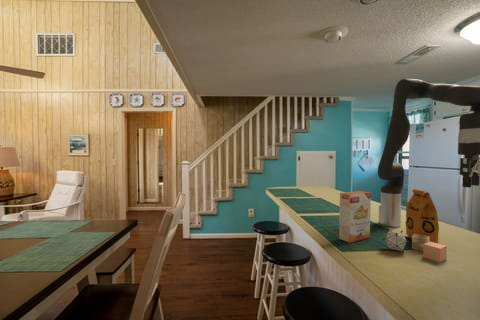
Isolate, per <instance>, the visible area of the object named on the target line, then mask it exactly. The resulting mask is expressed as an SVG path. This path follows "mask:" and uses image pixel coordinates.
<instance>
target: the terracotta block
mask: <svg viewBox="0 0 480 320" xmlns="http://www.w3.org/2000/svg"><path fill="white" fill-rule="evenodd" d="M447 247H448V246H447V245H444V244H441V243H439V242H438V243H434V242H428V243H425V244H424V251H423V258H424V259H428V260H430V261H433V262H437V263H442V262H444V261H447V249H448V248H447Z"/></svg>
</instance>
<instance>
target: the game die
mask: <svg viewBox="0 0 480 320" xmlns="http://www.w3.org/2000/svg"><path fill="white" fill-rule="evenodd" d="M386 230H387V232H386V235H385V236H384V238H382V241H384V242H385V244H386V246H387V251H388V252H389V251H390V250H394V251H400V252H402V253H403V254H404V253H405V251H404V249H405V248H406V245H407V243H410V241H409V240H407V239H406V237H405V235H404V234H403V232H404V230H401V231H395V230H389V229H388V228H387V229H386Z"/></svg>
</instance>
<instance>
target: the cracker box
mask: <svg viewBox="0 0 480 320" xmlns="http://www.w3.org/2000/svg"><path fill="white" fill-rule="evenodd" d="M371 200H372V192H370V191H362V190H357V191H347V192H346V191H345V192H340V193H339V215H338V217H339V218H338V220H339V221H338V223H339V224H338V227H339V228H338V240H341V241H344V242H346V243H348V244H350V243H354V242H359V241H363V240H366V239H370V237H371V235H370V234H371V210H372V209H371V207H372V203H371Z"/></svg>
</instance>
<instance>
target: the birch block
mask: <svg viewBox="0 0 480 320" xmlns="http://www.w3.org/2000/svg"><path fill="white" fill-rule="evenodd" d="M428 242H430V236H426V235H420V234H414V235H413V236H412V238H411V249H413V250H418V251H421V252H424V244H425V243H428Z"/></svg>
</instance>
